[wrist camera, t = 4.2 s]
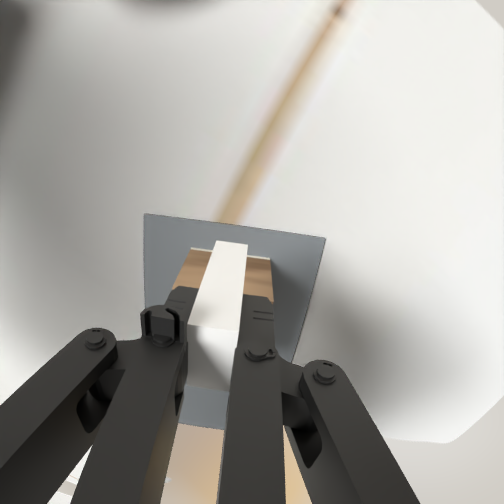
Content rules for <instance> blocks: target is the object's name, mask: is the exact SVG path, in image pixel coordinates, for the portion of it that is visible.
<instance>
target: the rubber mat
mask: <svg viewBox="0 0 504 504" xmlns="http://www.w3.org/2000/svg"><path fill="white" fill-rule="evenodd" d="M216 240H217V241H224V242H232V243H239V244H246V245H248V249H247V255H251V256H259V257H266V258H270V264H271V275H272V288H273V300H274V302H273V316H274V336H275V348H276V349H277V351H278V353H279V355H280V356H281V357H282V358H283V359H285V360H286V361H288V362H290V363H291V362H292V359H293V356H294V352H295V349H296V346H297V342H298V339H299V336H300V332H301V329H302V326H303V322H304V319H305V315H306V312H307V308H308V304H309V301H310V297H311V293H312V290H313V286H314V282H315V278H316V275H317V271H318V267H319V263H320V259H321V255H322V251H323V247H324V243H325V238H323V237H316V236H310V235H303V234H296V233H289V232H282V231H275V230H268V229H261V228H254V227H247V226H239V225H232V224H225V223H217V222H209V221H202V220H194V219H186V218H178V217H170V216H161V215H153V214H144V290H145V309H146V308H148V307H150V306H155V305H164V304H165V302H166V300H167V298H168V296H169V294H170V292H171V291H172V287H173V285H174V283H175V281H176V278H177V276H178V274H179V272H180V270H181V268H182V266H183V264H184V262H185V259H186V257H187V255H188V253H189V251H190V249H191V247H193V248H200V249H207V250H213V249H214V246H215V243H216ZM228 397H229V392H227V391H219V390H212V389H206V388H199V387H193V386H188V385H187V379H186V382H185V386H184V400H183V404H182V409H181V413H180V417H179V421H178V423H182V424H187V425H193V426H199V427H206V428H213V429H221V430H225V421H226V411H227V404H228Z"/></svg>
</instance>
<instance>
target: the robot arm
mask: <svg viewBox="0 0 504 504" xmlns="http://www.w3.org/2000/svg"><path fill="white" fill-rule="evenodd" d="M247 249H248V245H246V244H239V243H232V242H224V241H217V240H216V243H215V246H214V249H213V251H212V254H211V257H210V260H209V263H208V265H207V268H206V271H205V274H204V277H203V280H202V282H201V285H200V288H192V287H186V286H178V287H176V288H175V289H173V290H172V291H171V292H170V294H169V296H168V298H167V300H166V302H165V304H164V305H155V306H150V307H148V308H146V309H144V310H143V311H142V312H141V314H140V316H141V329H142V337H141V338H140V339H137V340H129V341H116V338H115V336H114V334H113V333H112V332H110V331H109V330H106V329H103V328H91V329H87V330H85V331H83V332H82V333H80V334H79V335H78V336H76V337H75V338H74V339H73V340H72V341H71V342H69V343H68V344H67V345H66V346H65V347H64V348H63V349H61V350H60V351H59V352H58V353H57V354H56V355H55V356H54V357H52V358H51V359H50V360H49V361H48V362H47V363H46V364H45V365H44V366H42V367H41V368H40V369H39V370H38V371H37V372H36V373H35V374H34V375H33V376H31V377H30V378H29V379H28V380H27V381H26V382H25V383H24V384H23V385H22V386H21V387H20V388H18V389H17V390H16V391H15V392H14V393H13V394H12V395H11V396H10V397H9V398H8V399H7V400H6V401H5V402H4V403H3V404H2V405H0V504H47V503H48V502H49V500H50V499H51V498H52V496H53V495H54V494H55V492H56V491H57V490H58V488H59V487H60V486H61V485H62V483H63V482H64V481H65V479H66V478H67V477H68V476H69V474H70V473H71V472H72V470H73V469H74V468H75V466H76V465H77V464H78V463H79V461H80V460H81V459H82V457H83V456H84V455H85V454H86V452H87V451H88V450H89V448H90V447H91V446H92V444H93V446H92V448H91V450H90V453H89V455H88V458H87V461H86V463H85V466H84V468H83V471H82V473H81V476H80V479H79V481H78V484H77V487H76V489H75V492H74V495H73V498H72V500H71V503H70V504H160V501H161V497H162V492H163V487H164V483H165V478H166V473H167V469H168V465H169V460H170V455H171V451H172V447H173V443H174V438H175V434H176V429H177V425H178V421H179V417H180V413H181V409H182V404H183V400H184V386H185V382H186V379H187V385H188V386H193V387H199V388H206V389H212V390H219V391H227V392H229V397H228V404H227V411H226V421H225V430H224V439H223V447H222V457H221V465H220V474H219V484H218V492H217V501H216V504H286V499H285V497H286V496H285V467H284V442H283V441H284V440H283V425H284V427H285V431H286V433H287V436H288V438H289V441H290V444H291V447H292V450H293V453H294V456H295V458H296V461H297V464H298V467H299V469H300V472H301V475H302V478H303V480H304V483H305V486H306V488H307V491H308V494H309V496H310V499H311V502H312V504H420V502H419V501H418V499H417V497H416V495H415V493H414V492H413V490H412V488H411V486H410V484H409V483H408V481H407V479H406V477H405V476H404V474H403V472H402V470H401V469H400V467H399V465H398V463H397V462H396V460H395V458H394V456H393V455H392V453H391V451H390V449H389V448H388V446H387V444H386V442H385V441H384V439H383V437H382V435H381V434H380V432H379V430H378V429H377V427H376V425H375V423H374V422H373V420H372V418H371V417H370V415H369V413H368V411H367V410H366V408H365V406H364V405H363V403H362V401H361V400H360V398H359V396H358V394H357V393H356V391H355V389H354V388H353V386H352V384H351V383H350V381H349V379H348V378H347V376H346V374H345V372H344V371H343V370H342V369H341V368H340V367H339V366H337V365H336V364H334V363H332V362H329V361H326V360H315V361H311V362H309V363H308V364H307V365H305V367H301V366H298V365H295V364H292V363H290V362H288V361H286V360H285V359H283V358H282V357H281V356H280V355H279V353H278V351H277V349H276V348H275V336H274V316H273V304H272V303H271V301H270V300H269V299H268V297H264V296H256V295H248V294H243V287H244V277H245V268H246V258H247Z"/></svg>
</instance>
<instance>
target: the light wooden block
mask: <svg viewBox="0 0 504 504" xmlns="http://www.w3.org/2000/svg"><path fill="white" fill-rule="evenodd" d="M212 251H213V250H207V249H200V248H193V247H191V249H190V251H189V253H188V255H187V257H186V259H185V262H184V264H183V266H182V268H181V270H180V272H179V274H178V276H177V278H176V281H175V283H174V285H173V287H172V290H173V289H175V288H176V287H178V286H186V287H192V288H200V285H201V282H202V280H203V277H204V274H205V271H206V268H207V265H208V263H209V260H210V257H211V254H212ZM243 294H248V295H256V296H264V297H268V299H269V300H270V301H271V303H272V304H273V302H274V300H273V288H272V275H271V264H270V258H266V257H259V256H251V255H247V258H246V268H245V277H244V287H243Z"/></svg>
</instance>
